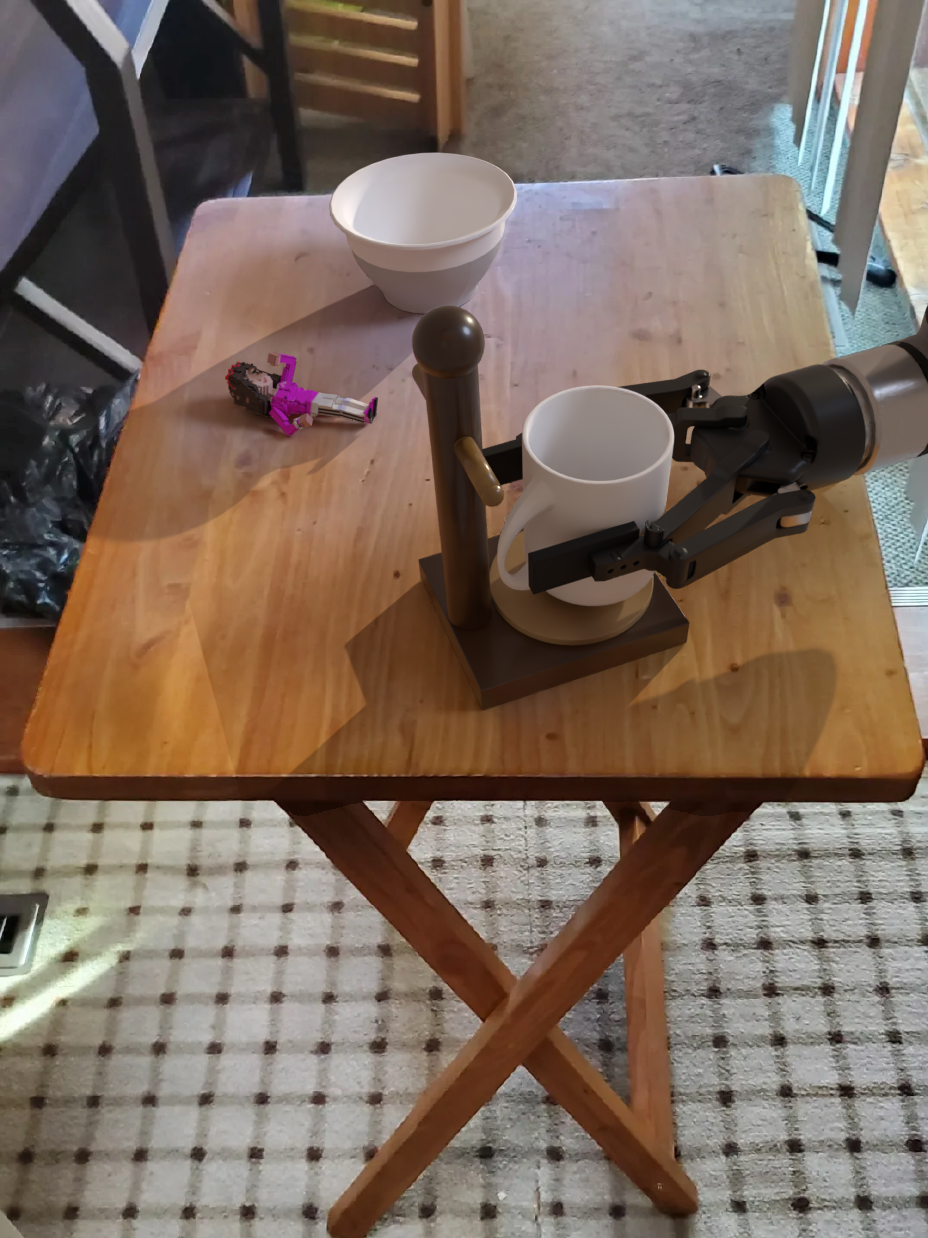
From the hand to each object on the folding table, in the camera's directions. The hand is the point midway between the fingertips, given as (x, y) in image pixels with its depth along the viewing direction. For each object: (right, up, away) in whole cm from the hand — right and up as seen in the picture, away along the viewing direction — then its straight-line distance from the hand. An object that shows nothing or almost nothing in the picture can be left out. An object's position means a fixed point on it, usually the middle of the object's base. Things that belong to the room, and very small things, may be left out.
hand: (501, 521), depth 64 cm
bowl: (-5, +24, +34) cm, 42 cm away
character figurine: (-15, +10, +23) cm, 29 cm away
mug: (+5, -3, +5) cm, 8 cm away
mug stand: (+3, -5, +8) cm, 10 cm away
